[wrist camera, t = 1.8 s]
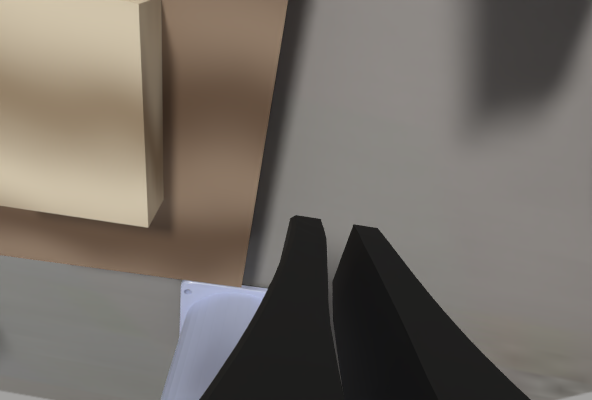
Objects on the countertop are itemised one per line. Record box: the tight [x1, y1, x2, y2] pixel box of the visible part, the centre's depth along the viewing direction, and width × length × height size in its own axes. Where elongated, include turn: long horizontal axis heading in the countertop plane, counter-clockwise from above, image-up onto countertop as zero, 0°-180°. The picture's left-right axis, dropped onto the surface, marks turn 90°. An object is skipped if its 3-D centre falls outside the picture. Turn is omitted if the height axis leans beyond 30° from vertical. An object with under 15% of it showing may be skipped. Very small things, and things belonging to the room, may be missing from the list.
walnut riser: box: [0, 0, 288, 288], centre depth 15 cm, size 18×12×4 cm, turn 169°
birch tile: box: [0, 0, 164, 228], centre depth 13 cm, size 8×6×2 cm
